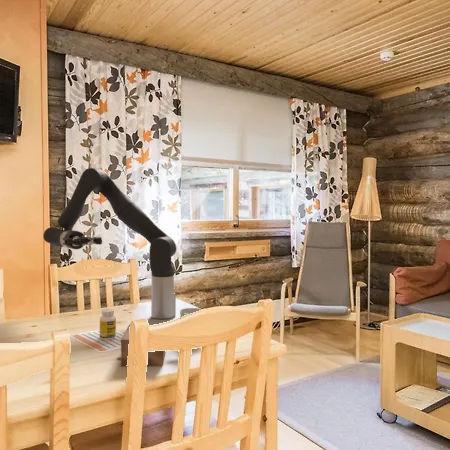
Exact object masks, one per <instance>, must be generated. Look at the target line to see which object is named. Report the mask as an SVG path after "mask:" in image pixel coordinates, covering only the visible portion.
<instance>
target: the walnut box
mask: <svg viewBox="0 0 450 450" xmlns="http://www.w3.org/2000/svg"><path fill="white" fill-rule="evenodd" d="M154 324H155V323H154ZM154 324H151V323H150V324H149V325H154ZM130 325H131V324H128V326H127V327H126V329H125V332H124V333H123V334H124V335H123V337H122V338H121V348H120V366H121V367H127V366H126V365H127V356H128V344H129V327H130ZM166 353H167V351H166V352H165V351H155V352H148V365H147V366H146V367H163V366H164V362H165V357H166Z"/></svg>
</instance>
